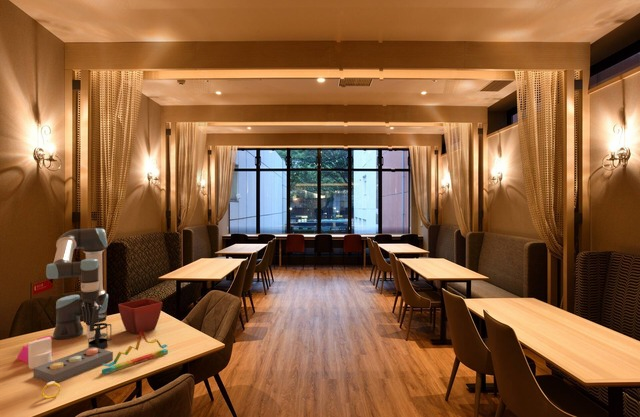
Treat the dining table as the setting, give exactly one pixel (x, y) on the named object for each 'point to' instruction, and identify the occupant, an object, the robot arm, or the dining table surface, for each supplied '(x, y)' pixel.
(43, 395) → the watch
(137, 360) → the chart
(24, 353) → the bracket
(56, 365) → the ochre button
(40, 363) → the translucent white block
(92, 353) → the terracotta button
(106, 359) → the button panel
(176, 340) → the dining table surface
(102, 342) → the french press
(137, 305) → the plant pot
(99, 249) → the robot arm
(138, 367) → the dining table surface
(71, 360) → the sage button
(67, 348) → the dining table surface
